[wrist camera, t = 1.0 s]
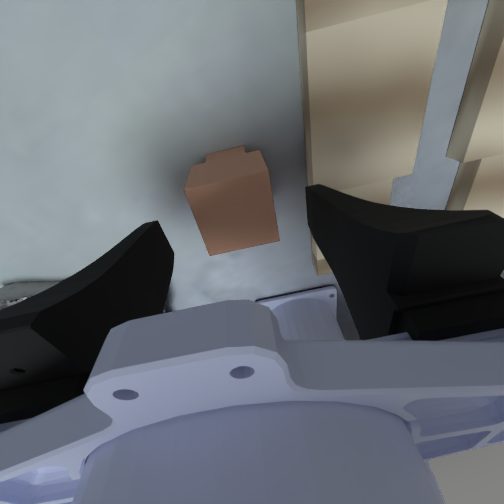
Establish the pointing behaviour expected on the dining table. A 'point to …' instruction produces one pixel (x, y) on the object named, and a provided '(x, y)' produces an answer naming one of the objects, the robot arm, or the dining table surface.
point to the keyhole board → (394, 100)
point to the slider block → (232, 200)
